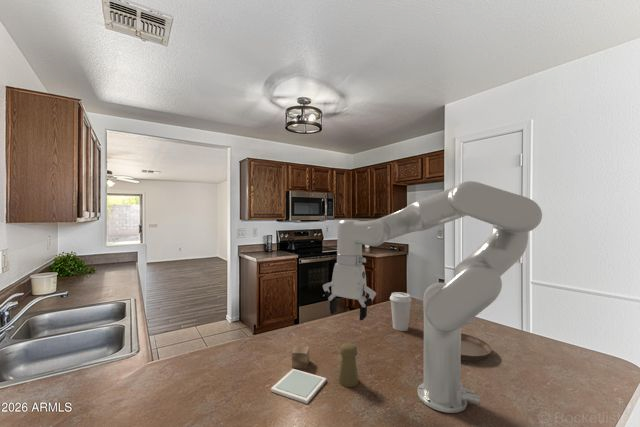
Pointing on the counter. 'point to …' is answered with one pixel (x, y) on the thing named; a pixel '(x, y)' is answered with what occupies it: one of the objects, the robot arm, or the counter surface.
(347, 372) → the olive rounded tall piece
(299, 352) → the walnut block
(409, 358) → the counter surface
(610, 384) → the counter surface
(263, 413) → the counter surface
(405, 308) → the coffee cup
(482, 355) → the plant saucer
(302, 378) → the plate
